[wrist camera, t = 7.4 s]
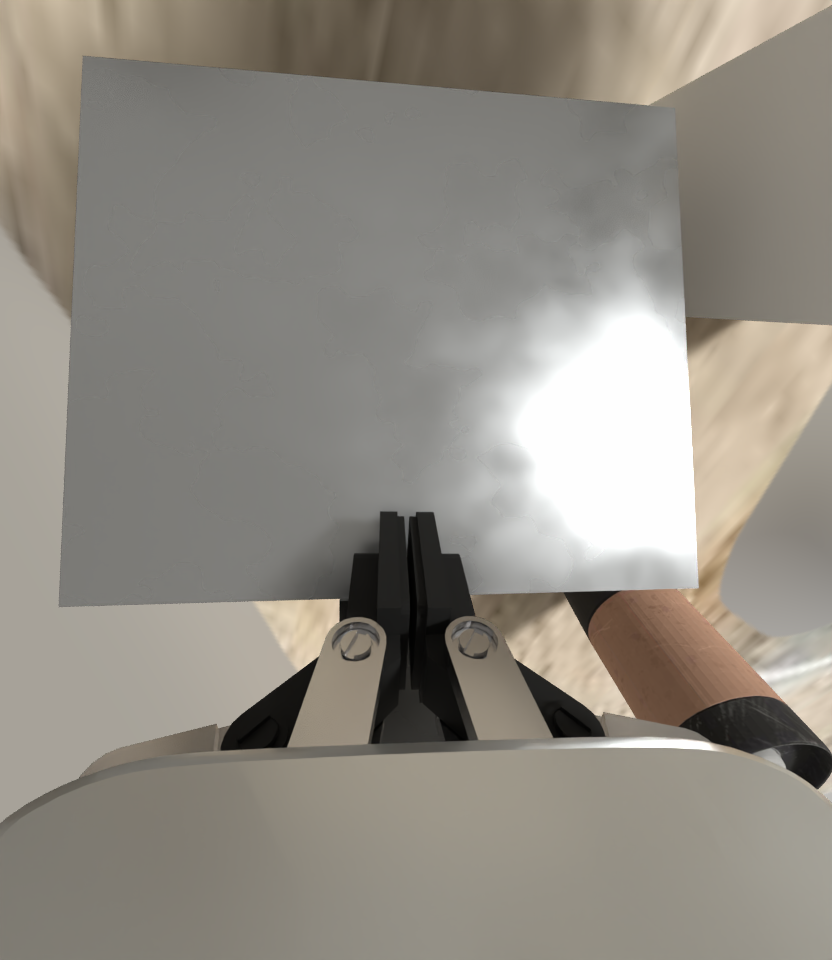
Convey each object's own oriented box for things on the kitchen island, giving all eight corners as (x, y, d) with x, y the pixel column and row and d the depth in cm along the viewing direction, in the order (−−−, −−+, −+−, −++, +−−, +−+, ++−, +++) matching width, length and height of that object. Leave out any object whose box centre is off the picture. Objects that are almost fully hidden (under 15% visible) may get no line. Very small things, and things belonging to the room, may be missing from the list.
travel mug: (583, 506, 36) (782, 724, 18) (640, 540, 39) (866, 764, 21) (530, 566, 39) (659, 809, 21) (586, 595, 41) (746, 836, 23)
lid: (653, 136, 16) (680, 100, 15) (682, 771, 15) (716, 801, 14) (106, 92, 15) (76, 45, 13) (78, 816, 13) (39, 856, 12)
